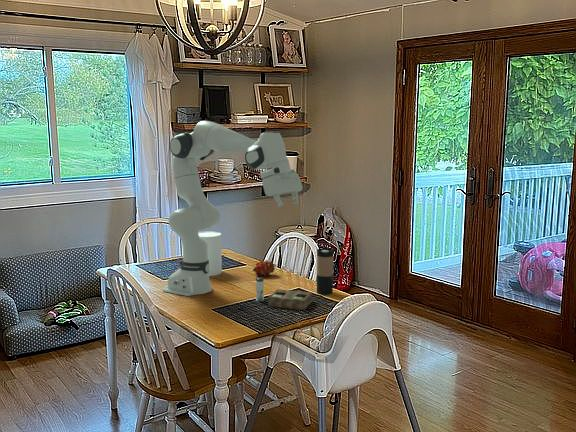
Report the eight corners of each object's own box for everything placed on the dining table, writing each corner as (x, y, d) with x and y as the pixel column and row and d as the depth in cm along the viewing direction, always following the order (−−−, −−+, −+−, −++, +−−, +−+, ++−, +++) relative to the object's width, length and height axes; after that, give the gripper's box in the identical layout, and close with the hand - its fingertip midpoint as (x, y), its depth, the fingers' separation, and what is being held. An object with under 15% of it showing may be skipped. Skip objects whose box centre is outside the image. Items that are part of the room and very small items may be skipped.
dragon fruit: (277, 277, 306) (254, 283, 302) (270, 265, 311) (248, 270, 307) (278, 267, 300) (256, 273, 296) (272, 254, 305) (250, 260, 301)
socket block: (268, 306, 257) (268, 296, 257) (277, 297, 269) (277, 288, 268) (304, 310, 253) (304, 300, 252) (312, 301, 264) (312, 291, 263)
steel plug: (255, 301, 264) (255, 279, 262) (257, 299, 267) (257, 277, 265) (262, 302, 263) (262, 279, 261) (264, 299, 266) (264, 277, 264)
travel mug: (324, 289, 282) (324, 247, 278) (336, 292, 276) (337, 250, 273) (312, 292, 276) (313, 249, 273) (325, 296, 271) (325, 252, 268)
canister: (190, 274, 306) (189, 235, 303) (203, 267, 319) (202, 230, 315) (213, 277, 301) (212, 237, 298) (226, 270, 314) (225, 232, 310)
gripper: (289, 171, 248) (297, 203, 248) (257, 174, 232) (266, 209, 232) (301, 167, 245) (309, 200, 244) (269, 170, 228) (278, 205, 228)
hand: (288, 204), depth 238 cm, fingers open, 8 cm apart
